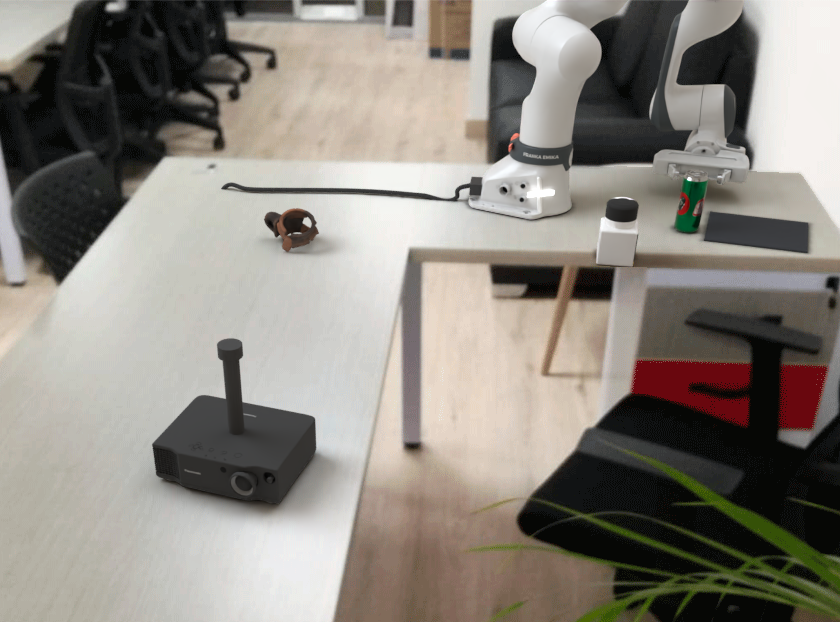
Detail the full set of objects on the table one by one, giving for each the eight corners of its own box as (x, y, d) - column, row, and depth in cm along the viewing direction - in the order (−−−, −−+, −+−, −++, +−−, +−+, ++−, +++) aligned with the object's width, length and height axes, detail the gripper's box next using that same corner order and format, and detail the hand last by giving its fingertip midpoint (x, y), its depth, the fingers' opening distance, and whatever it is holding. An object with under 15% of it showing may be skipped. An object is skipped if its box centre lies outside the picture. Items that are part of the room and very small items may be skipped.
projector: (149, 488, 152) (131, 363, 140) (202, 428, 165) (190, 309, 153) (273, 516, 147) (265, 389, 135) (318, 452, 159) (315, 330, 147)
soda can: (694, 235, 223) (705, 178, 216) (670, 230, 225) (680, 174, 218) (701, 227, 226) (713, 171, 219) (678, 222, 228) (688, 166, 221)
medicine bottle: (633, 267, 210) (642, 208, 203) (596, 264, 212) (604, 205, 204) (632, 253, 216) (641, 194, 209) (596, 250, 217) (604, 192, 210)
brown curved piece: (324, 237, 225) (326, 212, 218) (306, 271, 221) (308, 247, 214) (271, 217, 226) (271, 191, 219) (253, 251, 222) (253, 226, 215)
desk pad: (703, 240, 221) (704, 239, 221) (710, 212, 233) (710, 211, 233) (807, 253, 215) (807, 251, 215) (808, 223, 227) (808, 222, 227)
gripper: (657, 139, 242) (650, 158, 232) (752, 148, 236) (749, 169, 226) (653, 166, 246) (645, 187, 236) (746, 176, 240) (743, 198, 230)
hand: (697, 178), depth 231 cm, fingers open, 8 cm apart
